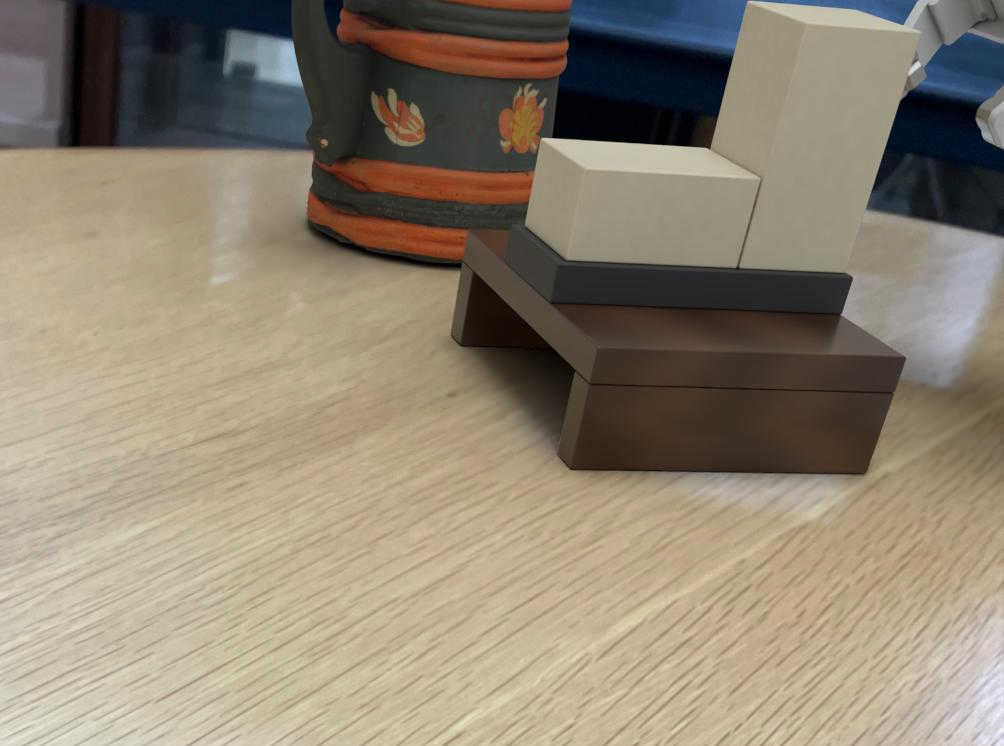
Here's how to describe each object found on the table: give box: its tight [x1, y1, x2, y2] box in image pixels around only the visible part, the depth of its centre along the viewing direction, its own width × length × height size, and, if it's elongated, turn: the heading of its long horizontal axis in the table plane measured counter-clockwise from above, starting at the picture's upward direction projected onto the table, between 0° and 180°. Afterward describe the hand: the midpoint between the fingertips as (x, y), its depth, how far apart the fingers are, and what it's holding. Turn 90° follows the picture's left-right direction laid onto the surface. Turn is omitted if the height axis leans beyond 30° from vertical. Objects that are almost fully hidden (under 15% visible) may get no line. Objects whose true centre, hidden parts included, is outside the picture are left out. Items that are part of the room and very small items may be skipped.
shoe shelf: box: [450, 228, 907, 474], centre depth 71 cm, size 14×18×5 cm
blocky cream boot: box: [505, 0, 921, 315], centre depth 66 cm, size 14×6×11 cm, turn 101°
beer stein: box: [290, 0, 573, 264], centre depth 85 cm, size 19×15×20 cm
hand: (930, 109), depth 67 cm, fingers open, 8 cm apart
